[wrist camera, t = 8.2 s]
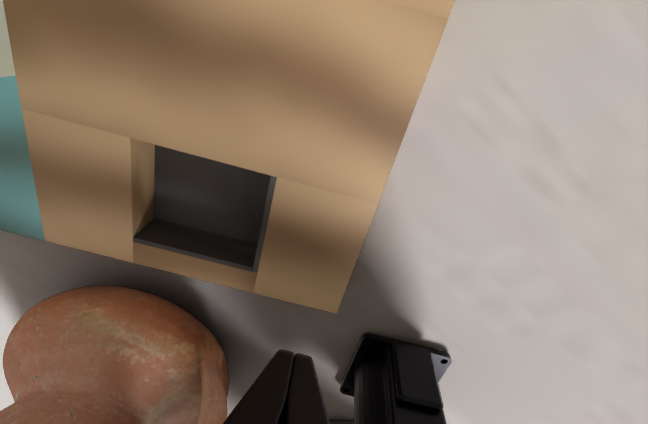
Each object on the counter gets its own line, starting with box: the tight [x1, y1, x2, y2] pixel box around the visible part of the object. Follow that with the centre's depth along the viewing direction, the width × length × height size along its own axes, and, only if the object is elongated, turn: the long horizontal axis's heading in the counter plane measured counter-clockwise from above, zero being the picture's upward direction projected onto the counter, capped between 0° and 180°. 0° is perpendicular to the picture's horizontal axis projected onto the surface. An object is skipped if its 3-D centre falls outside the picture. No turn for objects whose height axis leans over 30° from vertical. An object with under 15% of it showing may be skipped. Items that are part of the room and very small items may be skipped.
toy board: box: [0, 0, 455, 314], centre depth 14 cm, size 23×24×4 cm
